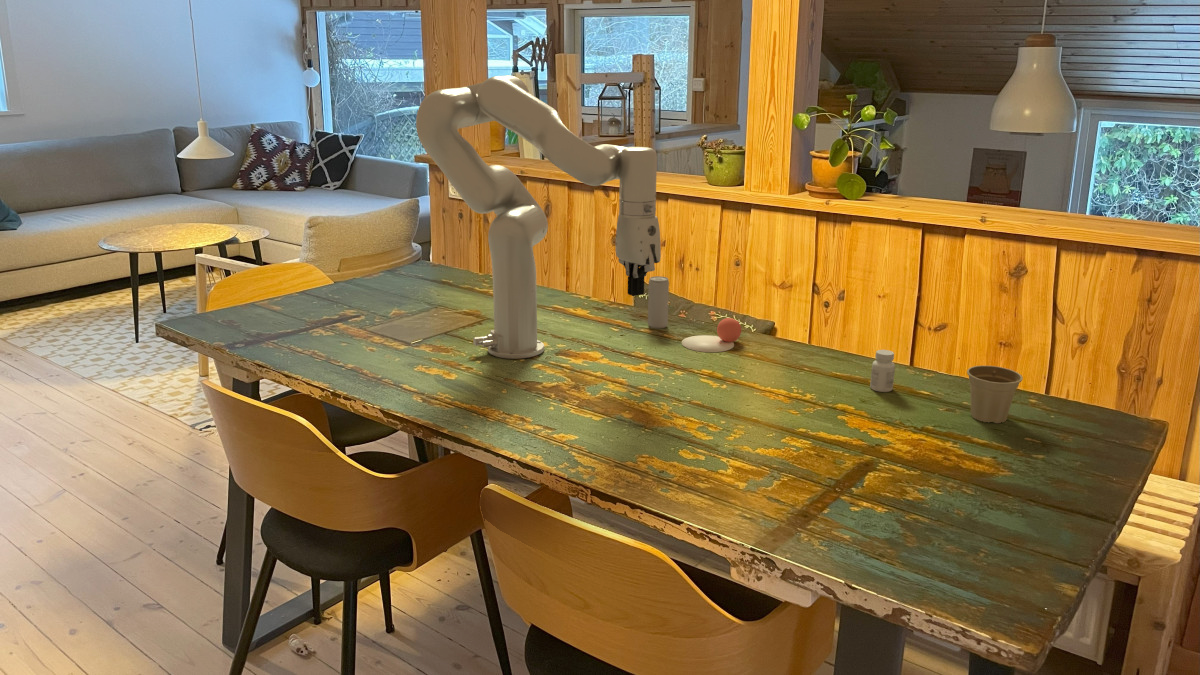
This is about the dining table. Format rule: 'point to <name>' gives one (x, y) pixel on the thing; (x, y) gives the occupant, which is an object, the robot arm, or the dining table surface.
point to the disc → (707, 343)
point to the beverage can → (658, 302)
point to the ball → (729, 330)
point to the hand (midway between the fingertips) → (635, 294)
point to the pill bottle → (883, 371)
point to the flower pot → (992, 392)
